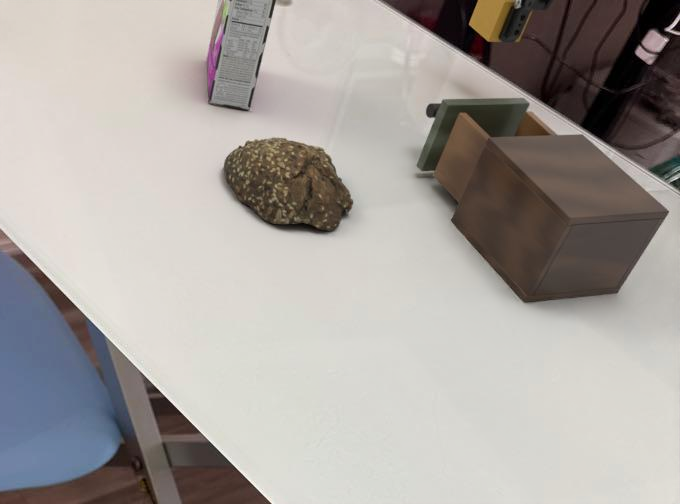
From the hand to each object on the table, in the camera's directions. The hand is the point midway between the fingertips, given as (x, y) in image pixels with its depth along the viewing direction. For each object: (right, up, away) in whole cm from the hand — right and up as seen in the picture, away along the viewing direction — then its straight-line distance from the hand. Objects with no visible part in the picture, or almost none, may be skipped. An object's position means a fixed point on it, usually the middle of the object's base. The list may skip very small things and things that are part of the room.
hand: (495, 30), depth 114 cm
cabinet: (-2, -31, -17) cm, 36 cm away
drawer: (-6, -22, -11) cm, 25 cm away
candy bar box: (-32, -8, -4) cm, 33 cm away
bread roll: (-27, -25, -17) cm, 41 cm away
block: (0, 0, 0) cm, 0 cm away
